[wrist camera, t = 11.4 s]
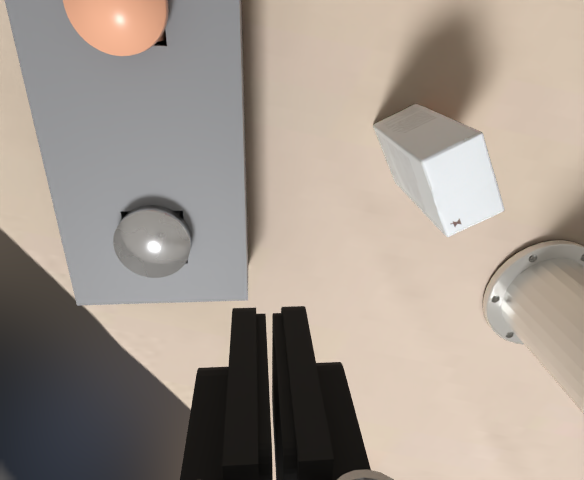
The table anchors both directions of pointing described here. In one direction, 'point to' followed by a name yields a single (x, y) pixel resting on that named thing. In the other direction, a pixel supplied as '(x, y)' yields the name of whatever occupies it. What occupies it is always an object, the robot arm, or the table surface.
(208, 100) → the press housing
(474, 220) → the skincare box
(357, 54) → the table surface
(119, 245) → the grey plunger
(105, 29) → the peach dome knob
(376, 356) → the table surface
